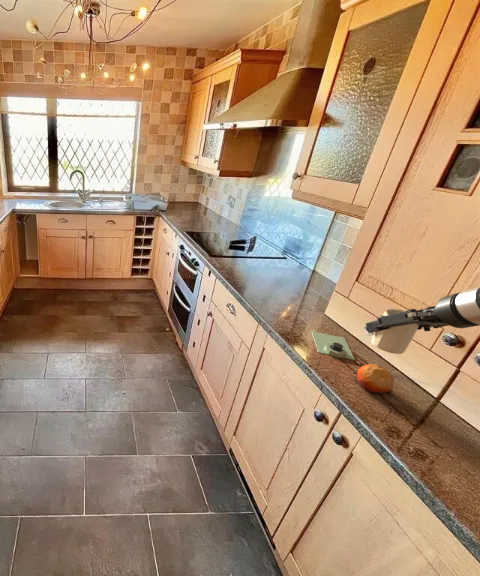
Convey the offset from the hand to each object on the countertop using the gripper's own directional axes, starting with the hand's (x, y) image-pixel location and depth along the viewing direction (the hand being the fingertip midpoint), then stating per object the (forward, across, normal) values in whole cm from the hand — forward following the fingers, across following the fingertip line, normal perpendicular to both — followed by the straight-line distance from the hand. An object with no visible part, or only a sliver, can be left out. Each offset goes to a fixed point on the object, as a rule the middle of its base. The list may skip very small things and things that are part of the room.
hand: (382, 328), depth 88 cm
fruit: (+8, -2, -16) cm, 18 cm away
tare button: (+16, -3, -4) cm, 17 cm away
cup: (0, 0, -5) cm, 5 cm away
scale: (+21, -2, -3) cm, 21 cm away
